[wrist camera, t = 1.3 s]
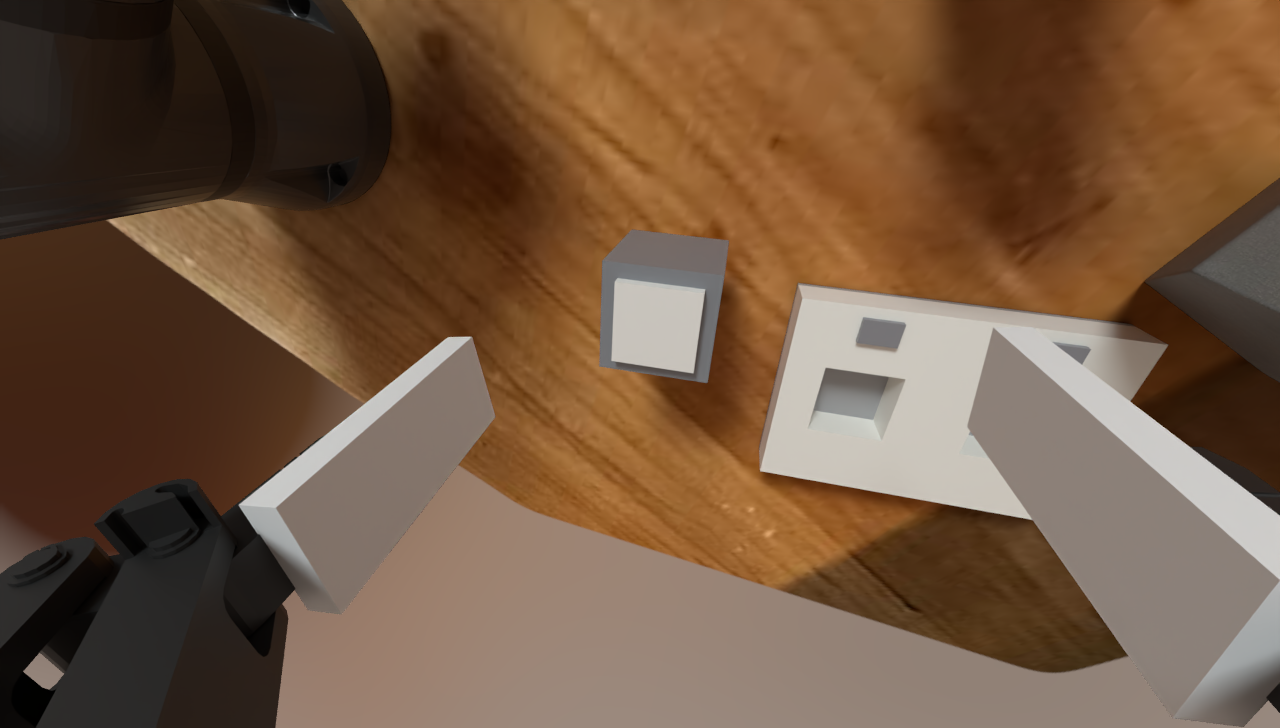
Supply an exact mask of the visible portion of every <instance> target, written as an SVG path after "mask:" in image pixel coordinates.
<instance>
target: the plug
mask: <svg viewBox="0 0 1280 728" xmlns="http://www.w3.org/2000/svg"><path fill="white" fill-rule="evenodd" d="M728 244H729V241H728V240H719V239H710V238H702V237H693V236H684V235H675V234H666V233H657V232H649V231H640V230H631V231H630V232H629V233H628V234H627V235H626V236H625V237H624V238H623V240H622V241H621V242H620V243H619V244H618V245H617V246H616V247H615V248H614V249H613V250H612V251H611V252H610V253H609V254H608V255H607V256H606V257H605V258H604V259H603V261H602V295H601V331H600V367H607V368H613V369H620V370H626V371H632V372H639V373H645V374H652V375H658V376H665V377H671V378H677V379H684V380H690V381H697V382H703V383H708V377H709V371H710V364H711V358H712V352H713V345H714V339H715V332H716V326H717V320H718V313H719V307H720V301H721V294H722V288H723V282H724V275H725V267H726V260H727V252H728Z"/></svg>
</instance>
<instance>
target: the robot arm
mask: <svg viewBox="0 0 1280 728" xmlns="http://www.w3.org/2000/svg"><path fill="white" fill-rule="evenodd" d="M390 133H391V117H390V106H389V99H388V94H387V89H386V85H385V81H384V78H383V75H382V71H381V68H380V66H379V63H378V60H377V58H376V56H375V53H374V51H373V49H372V47H371V45H370V43H369V41H368V39H367V37H366V35H365V33H364V32H363V30H362V28H361V27H360V25H359V23H358V22H357V20H356V19H355V17H354V16H353V14H352V13H351V12H350V10H349V9H348V8H347V6H346V5H345V4H344V3H343V1H342V0H0V239H6V238H11V237H16V236H21V235H27V234H32V233H38V232H43V231H48V230H54V229H59V228H65V227H70V226H75V225H80V224H86V223H91V222H96V221H102V220H108V219H113V218H118V217H124V216H129V215H134V214H140V213H145V212H150V211H156V210H161V209H167V208H172V207H177V206H183V205H188V204H193V203H198V202H204V201H210V200H215V199H225V200H232V201H238V202H245V203H251V204H257V205H264V206H270V207H277V208H283V209H289V210H298V211H310V210H320V209H324V208H329V207H333V206H337V205H342V204H345V203H348V202H351V201H353V200H355V199H357V198H358V197H360V196H361V195H363V194H364V193H365V192H366V191H367V190H368V189H369V188H370V187H371V186H372V185H373V184H374V182H375V181H376V180H377V178H378V176H379V175H380V173H381V171H382V169H383V166H384V164H385V161H386V157H387V154H388V149H389V144H390ZM494 418H495V413H494V410H493V406H492V403H491V400H490V396H489V393H488V389H487V386H486V383H485V379H484V376H483V372H482V369H481V366H480V362H479V359H478V355H477V352H476V348H475V345H474V342H473V338H472V337H448V338H446V339H445V340H444V341H443V342H441V343H440V344H439V345H438V346H436V347H435V348H434V349H433V350H431V351H430V352H429V353H428V354H426V355H425V356H424V357H423V358H421V359H420V360H419V361H418V362H416V363H415V364H414V365H413V366H411V367H410V368H409V369H408V370H406V371H405V372H404V373H403V374H401V375H400V376H399V377H398V378H396V379H395V380H394V381H393V382H391V383H390V384H389V385H388V386H386V387H385V388H384V389H383V390H381V391H380V392H379V393H378V394H376V395H375V396H374V397H373V398H371V399H370V400H369V401H368V402H366V403H365V404H364V405H363V406H362V407H360V408H359V409H358V410H356V411H355V412H354V413H353V414H352V415H350V416H349V417H348V418H346V420H344V421H343V422H341V423H340V424H339V425H338V426H336V427H335V428H334V429H333V430H331V431H330V432H329V433H328V434H326V435H325V436H323V437H321V438H319V439H318V440H316V441H315V442H314V443H313V444H312V445H310V446H309V447H308V448H306V449H305V450H304V451H303V452H301V453H300V456H299V457H295V458H294V459H292V460H291V461H290V462H289V463H287V464H286V465H285V466H284V469H283V470H279V471H277V472H276V473H275V474H274V475H272V476H271V477H270V478H269V479H268V480H266V481H265V482H264V483H262V484H261V485H260V486H259V487H257V488H256V489H255V490H254V491H252V492H251V493H250V494H248V495H247V496H246V497H245V498H243V499H242V500H241V501H240V502H238V503H237V504H236V505H235V506H233V507H232V508H231V509H230V510H228V511H227V512H226V513H225V514H223V515H222V516H220V515H219V513H218V512H217V510H216V509H215V507H214V506H213V505H212V503H211V502H210V500H209V499H208V497H207V496H206V495H205V493H204V492H203V490H202V489H201V487H200V486H199V484H198V483H197V482H195V481H193V480H191V479H177V480H173V481H169V482H165V483H161V484H158V485H155V486H153V487H150V488H148V489H145V490H143V491H140V492H138V493H136V494H134V495H132V496H131V497H129V498H127V499H125V500H123V501H121V502H120V503H118V504H117V505H115V506H114V507H112V508H111V509H110V510H108V511H107V512H105V513H104V514H103V515H102V516H101V517H100V518H99V519H98V521H96V522H95V523H94V525H95V526H96V527H97V528H98V529H99V530H100V532H101V533H102V534H103V535H104V536H105V537H106V538H107V540H108V541H109V542H110V543H111V544H112V545H113V547H114V548H115V549H116V550H117V551H118V552H119V553H120V554H119V555H113V556H108V554H107V553H106V552H105V551H104V550H103V549H102V548H101V547H100V546H99V545H98V543H97V542H96V541H95V540H94V539H91V538H87V537H81V538H73V539H69V540H66V541H63V542H60V543H56V544H51V545H48V546H46V547H43V548H41V550H40V551H39V550H36V551H34V552H32V553H30V554H28V555H27V556H25V557H24V558H23V559H22V560H21V561H19V562H17V563H16V564H14V565H12V566H11V567H9V568H8V569H6V570H5V571H4V572H3V573H1V574H0V728H275V725H276V716H277V708H278V700H279V691H280V684H281V675H282V667H283V659H284V649H285V642H286V634H287V625H288V615H287V610H286V609H285V608H284V606H283V605H282V603H283V602H284V601H285V600H286V598H287V597H288V596H289V595H290V594H291V593H292V592H293V591H294V590H295V591H296V593H297V594H298V596H299V597H300V599H301V600H302V602H303V603H304V605H305V606H306V607H307V609H308V610H311V611H318V612H326V613H335V614H342V613H343V612H344V611H345V609H346V608H347V607H348V605H349V604H350V603H351V601H352V600H353V599H354V598H355V597H356V595H357V594H358V593H359V591H360V590H361V589H362V587H363V586H364V585H365V584H366V582H367V581H368V580H369V579H370V577H371V576H372V574H373V573H374V572H375V571H376V570H377V568H378V567H379V566H380V564H381V563H382V562H383V561H384V559H385V558H386V557H387V555H388V554H389V553H390V552H391V550H392V549H393V548H394V546H395V545H396V544H397V543H398V541H399V540H400V539H401V537H402V536H403V535H404V534H405V532H406V531H407V530H408V528H409V527H410V526H411V525H412V523H413V522H414V521H415V520H416V518H417V517H418V516H419V514H420V513H421V512H422V510H423V509H424V508H425V506H426V505H427V504H428V503H429V501H430V500H431V499H432V498H433V496H434V495H435V494H436V493H437V491H438V490H439V489H440V487H441V486H442V485H443V484H444V482H445V481H446V480H447V478H448V477H449V476H450V475H451V473H452V472H453V471H454V469H455V468H456V467H457V466H458V464H459V463H460V462H461V461H462V459H463V458H464V457H465V455H466V454H467V453H468V452H469V450H470V449H471V448H472V446H473V445H474V444H475V443H476V441H477V440H478V439H479V437H480V436H481V435H482V434H483V432H484V431H485V430H486V428H487V427H488V426H489V425H490V423H491V422H492V421H493V419H494ZM967 427H968V429H969V430H970V432H971V433H972V434H973V436H974V437H975V439H976V440H977V442H978V443H979V444H980V446H981V447H982V449H983V450H984V452H985V453H986V454H987V456H988V457H989V459H990V460H991V461H992V463H993V464H994V466H995V467H996V469H997V470H998V471H999V473H1000V474H1001V476H1002V477H1003V478H1004V480H1005V481H1006V483H1007V484H1008V486H1009V487H1010V488H1011V490H1012V491H1013V493H1014V494H1015V496H1016V497H1017V498H1018V500H1019V501H1020V503H1021V504H1022V505H1023V507H1024V508H1025V510H1026V511H1027V513H1028V514H1029V515H1030V517H1031V518H1032V520H1033V521H1034V522H1035V524H1036V525H1037V527H1038V528H1039V530H1040V531H1041V532H1042V534H1043V535H1044V537H1045V538H1046V540H1047V541H1048V542H1049V544H1050V545H1051V547H1052V548H1053V549H1054V551H1055V552H1056V554H1057V555H1058V557H1059V558H1060V559H1061V561H1062V562H1063V564H1064V565H1065V566H1066V568H1067V569H1068V571H1069V572H1070V574H1071V575H1072V576H1073V578H1074V579H1075V581H1076V582H1077V584H1078V585H1079V586H1080V588H1081V589H1082V591H1083V592H1084V593H1085V595H1086V596H1087V598H1088V599H1089V601H1090V602H1091V603H1092V605H1093V606H1094V608H1095V609H1096V610H1097V612H1098V613H1099V615H1100V616H1101V618H1102V619H1103V620H1104V622H1105V623H1106V625H1107V626H1108V628H1109V629H1110V630H1111V632H1112V633H1113V635H1114V636H1115V637H1116V639H1117V640H1118V642H1119V643H1120V645H1121V646H1122V647H1123V649H1124V650H1125V652H1126V653H1127V654H1128V656H1129V657H1130V659H1131V660H1132V662H1133V663H1134V664H1135V666H1136V667H1137V669H1138V670H1139V671H1140V673H1141V674H1142V676H1143V677H1144V679H1145V680H1146V681H1147V683H1148V684H1149V686H1150V687H1151V689H1152V690H1153V691H1154V693H1155V694H1156V696H1157V697H1158V698H1159V700H1160V701H1161V703H1162V704H1163V706H1164V707H1165V708H1166V710H1167V711H1168V712H1169V714H1170V715H1171V717H1172V718H1175V719H1184V720H1191V721H1200V722H1207V723H1216V724H1223V725H1232V726H1239V727H1244V726H1245V725H1246V724H1247V723H1248V721H1250V719H1251V718H1252V717H1253V716H1254V715H1255V714H1256V713H1257V712H1258V711H1259V710H1260V708H1262V707H1263V705H1264V704H1265V703H1266V702H1267V701H1268V700H1269V701H1270V703H1272V705H1273V706H1274V707H1275V708H1276V709H1277V710H1278V712H1279V713H1280V492H1278V491H1277V490H1276V489H1274V488H1273V487H1271V486H1270V485H1269V484H1267V483H1266V482H1264V481H1263V480H1262V479H1260V478H1259V477H1257V476H1256V475H1255V474H1253V473H1252V472H1250V471H1249V470H1248V469H1246V468H1244V467H1242V466H1240V465H1238V464H1236V463H1234V462H1232V461H1230V460H1228V459H1226V458H1223V457H1221V456H1219V455H1217V454H1215V453H1213V452H1211V451H1209V450H1207V449H1205V448H1203V447H1189V446H1188V445H1186V444H1185V443H1184V442H1182V441H1181V440H1180V439H1179V438H1177V437H1176V436H1175V435H1173V434H1172V433H1171V432H1169V431H1168V430H1167V429H1165V428H1164V427H1163V426H1161V425H1160V424H1159V423H1158V422H1156V421H1155V420H1154V419H1152V418H1151V417H1150V416H1148V415H1147V414H1146V413H1144V412H1143V411H1142V410H1141V409H1139V408H1138V407H1137V406H1135V405H1134V404H1133V403H1131V402H1130V401H1129V400H1127V399H1126V398H1125V397H1123V396H1122V395H1121V394H1120V393H1118V392H1117V391H1116V390H1114V389H1113V388H1112V387H1110V386H1109V385H1108V384H1106V383H1105V382H1104V381H1102V380H1101V379H1100V378H1099V377H1097V376H1096V375H1095V374H1093V373H1092V372H1091V371H1089V370H1088V369H1087V368H1085V367H1084V366H1083V365H1081V364H1080V363H1079V362H1078V361H1076V360H1075V359H1074V358H1072V357H1071V356H1070V355H1068V354H1067V353H1066V352H1064V351H1063V350H1062V349H1060V348H1059V347H1058V346H1057V345H1055V344H1054V343H1053V342H1051V341H1050V340H1049V339H1047V338H1046V337H1045V336H1043V335H1042V334H1041V333H1039V332H1038V331H1037V330H1036V329H1034V328H1033V327H993V331H992V334H991V338H990V342H989V346H988V350H987V353H986V357H985V361H984V365H983V368H982V372H981V376H980V380H979V383H978V387H977V391H976V395H975V399H974V402H973V406H972V410H971V414H970V417H969V421H968V425H967ZM39 652H40V653H41V654H42V655H43V656H44V657H45V658H47V659H48V660H49V661H50V662H51V663H52V664H54V665H55V666H56V667H57V668H58V669H59V670H60V671H62V672H63V673H64V675H63V676H62V677H61V679H60V680H59V681H58V683H57V684H56V685H54V686H53V687H52V688H51V689H50V690H48V689H45V688H42V687H41V686H40V685H38V684H37V683H36V682H35V681H34V680H32V679H31V678H30V677H29V676H28V675H26V674H25V673H24V672H23V671H24V670H25V669H26V667H27V666H28V665H29V664H30V663H31V662H32V661H33V659H34V658H35V657H36V656H37V655H38V654H39Z"/></svg>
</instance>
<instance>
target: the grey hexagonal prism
mask: <svg viewBox="0 0 1280 728" xmlns="http://www.w3.org/2000/svg"><path fill="white" fill-rule="evenodd" d="M1145 283H1146V284H1148V285H1149V286H1151V287H1152V288H1153V289H1155V290H1156V291H1157V292H1158V293H1160V294H1161V295H1162V296H1164V297H1165V298H1166V299H1168V300H1169V301H1170V302H1172V303H1173V304H1174V305H1175V306H1177V307H1178V308H1179V309H1181V310H1182V311H1183V312H1185V313H1186V314H1187V315H1188V316H1190V317H1191V318H1192V319H1194V320H1195V321H1196V322H1198V323H1199V324H1200V325H1201V326H1203V327H1204V328H1205V329H1207V330H1208V331H1209V332H1211V333H1212V334H1213V335H1214V336H1216V337H1217V338H1218V339H1220V340H1221V341H1222V342H1224V343H1225V344H1226V345H1228V346H1229V347H1230V348H1231V349H1233V350H1234V351H1235V352H1237V353H1238V354H1239V355H1241V356H1242V357H1243V358H1244V359H1246V360H1247V361H1248V362H1250V363H1251V364H1252V365H1254V366H1255V367H1256V368H1258V369H1259V370H1260V371H1262V372H1263V373H1265V374H1266V375H1268V376H1269V377H1271V378H1273V379H1275V380H1276V381H1278V382H1280V178H1279V179H1278V180H1276V181H1275V182H1274V183H1272V184H1271V185H1270V186H1268V187H1267V188H1266V189H1264V190H1263V191H1262V192H1261V193H1259V194H1258V195H1257V196H1255V197H1254V198H1253V199H1251V200H1250V201H1249V202H1247V203H1246V204H1245V205H1243V206H1242V207H1241V208H1239V209H1238V210H1237V211H1235V212H1234V213H1233V214H1232V215H1230V216H1229V217H1228V218H1226V219H1225V220H1224V221H1222V222H1221V223H1220V224H1218V225H1217V226H1216V227H1214V228H1213V229H1212V230H1210V231H1209V232H1208V233H1207V234H1205V235H1204V236H1203V237H1201V238H1200V239H1199V240H1197V241H1196V242H1195V243H1193V244H1192V245H1191V246H1189V247H1188V248H1187V249H1185V250H1184V251H1183V252H1182V253H1180V254H1179V255H1178V256H1176V257H1175V258H1174V259H1172V260H1171V261H1170V262H1168V263H1167V264H1166V265H1164V266H1163V267H1162V268H1160V269H1159V270H1158V271H1156V272H1155V273H1154V274H1153V275H1151V276H1150V277H1149V278H1147V279H1146V280H1145Z"/></svg>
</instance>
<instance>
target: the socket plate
mask: <svg viewBox="0 0 1280 728" xmlns="http://www.w3.org/2000/svg"><path fill="white" fill-rule="evenodd" d="M993 327H1033V328H1034V329H1036V330H1037V331H1038V332H1039V333H1041V334H1042V335H1043V336H1045V337H1046V338H1047V339H1049V340H1050V341H1051V342H1053V343H1054V344H1055V345H1057V346H1058V347H1059V348H1060V349H1062V350H1063V351H1064V352H1066V353H1067V354H1068V355H1070V356H1071V357H1072V358H1074V359H1075V360H1076V361H1078V362H1079V363H1080V364H1081V365H1083V366H1084V367H1085V368H1087V369H1088V370H1089V371H1091V372H1092V373H1093V374H1095V375H1096V376H1097V377H1099V378H1100V379H1101V380H1102V381H1104V382H1105V383H1106V384H1108V385H1109V386H1110V387H1112V388H1113V389H1114V390H1116V391H1117V392H1118V393H1120V394H1121V395H1122V396H1123V397H1125V398H1126V399H1127V400H1129V401H1131V400H1132V398H1133V397H1134V395H1135V394H1136V392H1137V391H1138V389H1139V388H1140V386H1141V385H1142V383H1143V382H1144V381H1145V379H1146V378H1147V376H1148V375H1149V373H1150V372H1151V370H1152V369H1153V367H1154V366H1155V364H1156V363H1157V361H1158V360H1159V358H1160V357H1161V355H1162V354H1163V352H1164V351H1165V349H1166V348H1167V347H1168V344H1166V343H1164V342H1162V341H1160V340H1159V339H1157V338H1155V337H1153V336H1151V335H1150V334H1148V333H1146V332H1144V331H1142V330H1141V329H1139V328H1137V327H1135V326H1133V325H1132V324H1126V323H1118V322H1110V321H1102V320H1094V319H1086V318H1077V317H1069V316H1061V315H1053V314H1045V313H1037V312H1029V311H1021V310H1013V309H1005V308H996V307H988V306H980V305H972V304H964V303H956V302H948V301H940V300H932V299H923V298H915V297H907V296H899V295H891V294H883V293H875V292H867V291H859V290H851V289H842V288H834V287H826V286H818V285H810V284H802V283H798V285H797V289H796V293H795V297H794V302H793V306H792V310H791V314H790V318H789V323H788V327H787V331H786V335H785V339H784V344H783V348H782V352H781V356H780V361H779V365H778V369H777V373H776V377H775V382H774V386H773V390H772V394H771V399H770V403H769V407H768V411H767V415H766V420H765V424H764V428H763V432H762V437H761V441H760V445H759V458H760V471H763V472H768V473H774V474H780V475H785V476H791V477H796V478H802V479H807V480H813V481H819V482H824V483H830V484H835V485H841V486H846V487H852V488H858V489H863V490H869V491H874V492H880V493H886V494H891V495H897V496H902V497H908V498H913V499H919V500H925V501H930V502H936V503H941V504H947V505H953V506H958V507H964V508H969V509H975V510H980V511H986V512H992V513H997V514H1003V515H1008V516H1014V517H1020V518H1025V519H1031V520H1032V518H1031V517H1030V515H1029V514H1028V513H1027V511H1026V510H1025V508H1024V507H1023V505H1022V504H1021V503H1020V501H1019V500H1018V498H1017V497H1016V496H1015V494H1014V493H1013V491H1012V490H1011V488H1010V487H1009V486H1008V484H1007V483H1006V481H1005V480H1004V478H1003V477H1002V476H1001V474H1000V473H999V471H998V470H997V469H996V467H995V466H994V464H993V463H992V461H991V460H990V459H989V457H988V456H987V454H986V453H985V452H984V450H983V449H982V447H981V446H980V444H979V443H978V442H977V440H976V439H975V437H974V436H973V434H972V433H971V432H970V430H969V429H968V427H967V425H968V421H969V417H970V414H971V410H972V406H973V402H974V399H975V395H976V391H977V387H978V383H979V380H980V376H981V372H982V368H983V365H984V361H985V357H986V353H987V350H988V346H989V342H990V338H991V334H992V331H993Z"/></svg>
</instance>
